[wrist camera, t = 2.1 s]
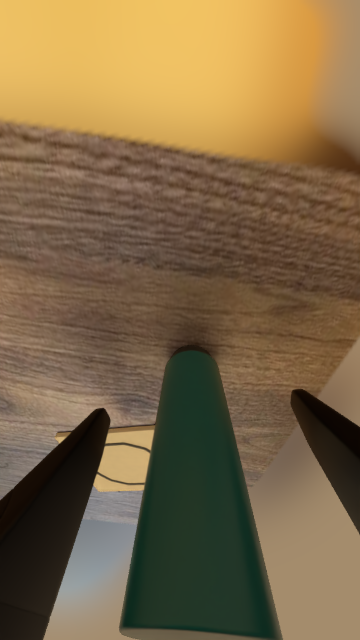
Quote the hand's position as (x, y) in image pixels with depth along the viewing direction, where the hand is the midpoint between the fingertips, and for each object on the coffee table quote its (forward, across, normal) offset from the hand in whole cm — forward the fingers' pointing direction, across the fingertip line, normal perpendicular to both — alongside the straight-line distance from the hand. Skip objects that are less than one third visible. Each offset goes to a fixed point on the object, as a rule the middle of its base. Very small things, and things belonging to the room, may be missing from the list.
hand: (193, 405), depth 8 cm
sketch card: (+3, +8, +11) cm, 14 cm away
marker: (+3, 0, 0) cm, 3 cm away
